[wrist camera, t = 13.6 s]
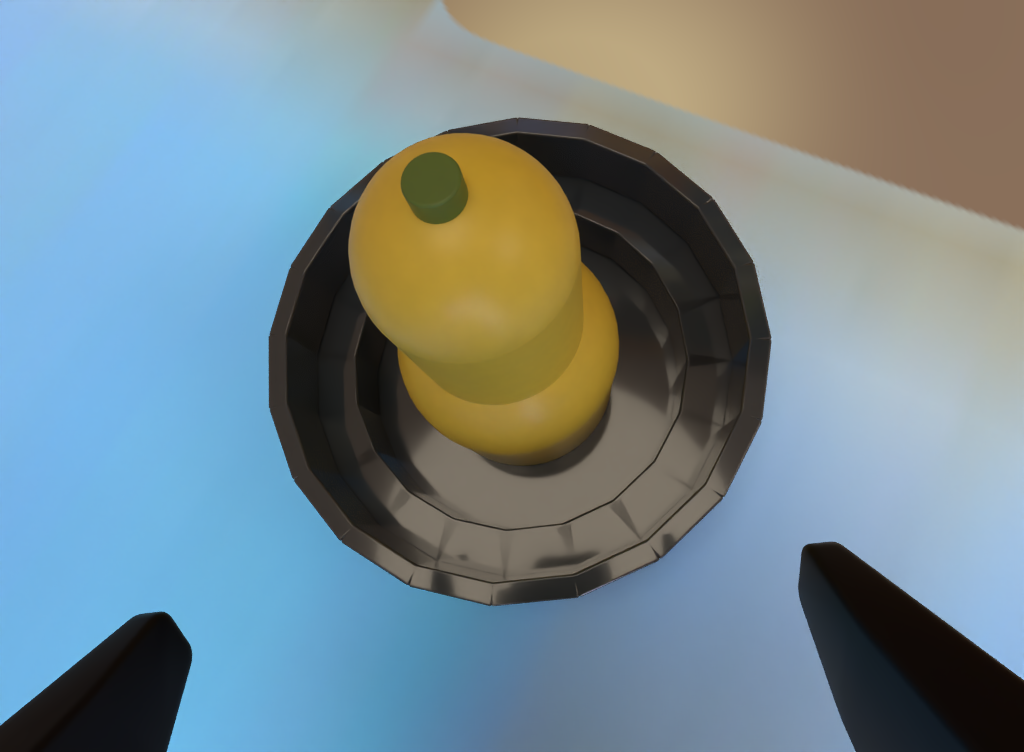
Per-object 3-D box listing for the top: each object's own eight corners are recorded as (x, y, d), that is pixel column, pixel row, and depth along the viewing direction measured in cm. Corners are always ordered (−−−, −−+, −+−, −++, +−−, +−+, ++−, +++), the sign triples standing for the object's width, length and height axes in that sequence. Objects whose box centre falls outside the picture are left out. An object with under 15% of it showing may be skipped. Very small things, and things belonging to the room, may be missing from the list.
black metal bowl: (770, 562, 20) (826, 573, 15) (341, 606, 21) (268, 629, 17) (689, 171, 24) (713, 81, 19) (329, 231, 25) (267, 161, 20)
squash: (590, 490, 21) (583, 430, 8) (412, 442, 22) (172, 326, 10) (633, 313, 22) (684, 30, 10) (463, 278, 23) (312, -15, 11)
